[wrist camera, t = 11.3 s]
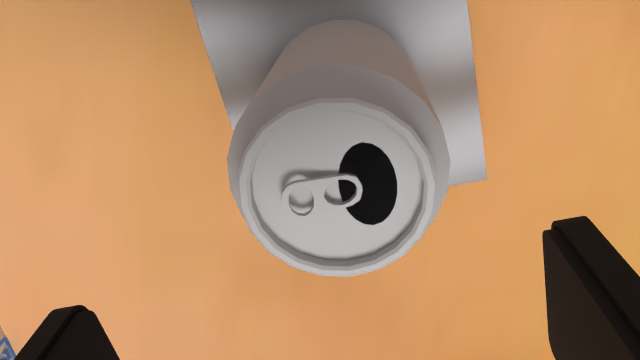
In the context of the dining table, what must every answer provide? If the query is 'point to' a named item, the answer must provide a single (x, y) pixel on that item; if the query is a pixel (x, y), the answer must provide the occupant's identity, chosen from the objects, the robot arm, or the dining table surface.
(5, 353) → the stack of blocks
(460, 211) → the dining table surface
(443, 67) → the riser
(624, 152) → the dining table surface
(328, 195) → the can
